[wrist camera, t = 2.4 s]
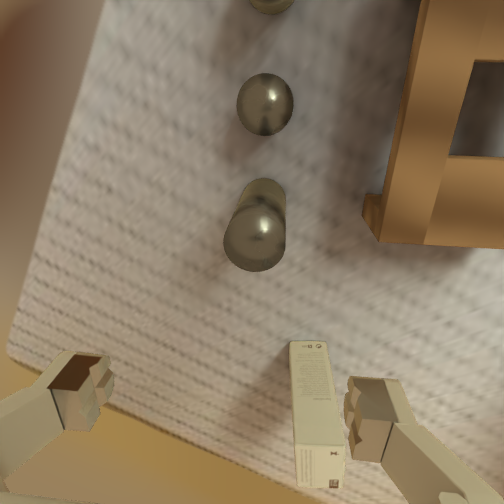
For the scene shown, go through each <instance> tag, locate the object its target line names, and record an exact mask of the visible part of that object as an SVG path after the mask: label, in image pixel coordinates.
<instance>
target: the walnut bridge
mask: <svg viewBox="0 0 504 504" xmlns="http://www.w3.org/2000/svg"><path fill="white" fill-rule="evenodd" d="M474 62H504V0H421V4H420V9H419V14H418V19H417V24H416V28H415V33H414V38H413V43H412V48H411V53H410V58H409V63H408V68H407V73H406V78H405V83H404V88H403V93H402V98H401V103H400V108H399V112H398V117H397V122H396V127H395V132H394V137H393V142H392V147H391V152H390V157H389V162H388V167H387V172H386V177H385V182H384V187H383V192H382V195H374V194H366V195H365V200H364V206H363V211H362V217H363V218H364V220H365V221H366V223H367V224H368V226H369V228H370V229H371V231H372V232H373V234H374V235H375V237H376V238H377V240H378V242H387V243H405V244H422V245H439V246H457V247H474V248H492V249H504V157H485V156H458V155H448V154H449V150H450V146H451V143H452V139H453V136H454V132H455V128H456V125H457V121H458V118H459V114H460V110H461V107H462V103H463V100H464V96H465V93H466V89H467V85H468V82H469V78H470V75H471V71H472V67H473V64H474Z"/></svg>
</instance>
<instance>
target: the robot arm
mask: <svg viewBox="0 0 504 504" xmlns="http://www.w3.org/2000/svg"><path fill="white" fill-rule="evenodd" d="M110 364H111V361H110V358H109V356H108V355H103V354H94V353H85V352H74V351H63V352H61V353H60V354H59V355H58V356H57V357H56V358H55V360H54V361H53V362H52V363H51V364H50V365H49V366H48V367H47V369H46V370H45V371H44V372H43V373H42V374H41V375H40V376H39V378H38V379H37V380H36V381H35V382H34V383H33V384H32V385H31V387H30V388H29V387H25V388H23V389H21V390H19V391H17V392H15V393H13V394H11V395H10V396H8V397H6V398H4V399H2V400H0V504H98V503H90V502H81V501H73V500H64V499H57V498H49V497H41V496H32V495H24V494H15V493H10V491H9V489H8V488H7V486H6V484H5V482H4V479H5V478H6V477H8V476H9V475H10V474H12V473H13V472H14V471H15V470H17V469H18V468H19V467H20V466H21V465H23V464H24V463H25V462H27V461H28V460H29V459H30V458H31V457H33V456H34V455H35V454H36V453H38V452H39V451H40V450H41V449H43V448H44V447H45V446H46V445H48V444H49V443H50V442H51V441H52V440H54V439H55V438H56V437H57V436H59V435H60V434H61V433H63V432H64V430H73V431H87V432H89V431H90V430H91V428H92V427H93V425H94V423H95V422H96V420H97V418H98V417H99V415H100V408H99V407H100V406H102V405H103V404H105V403H106V402H107V401H108V399H109V398H110V396H111V394H112V391H113V387H114V374H113V372H112V371H111V370H110V369H109V368H108V367H109V366H110ZM347 385H348V390H349V392H347V393H346V394H345V398H344V419H345V424H346V426H347V427H348V428H349V429H350V432H349V437H348V440H349V446H350V451H351V456H352V459H353V460H361V461H368V462H375V463H381V466H382V467H383V469H384V470H385V471H386V473H387V474H388V475H389V477H390V478H391V479H392V481H393V482H394V483H395V485H396V486H397V488H398V489H399V490H400V492H401V493H402V494H403V496H404V497H405V498H406V500H407V501H408V502H409V504H504V500H503V498H502V497H501V496H500V495H499V494H498V493H497V492H496V491H495V490H494V489H492V488H491V487H490V486H489V485H488V484H487V483H486V482H485V481H484V480H483V479H481V478H480V477H479V476H478V475H477V474H476V473H475V472H474V471H473V470H472V469H470V468H469V467H468V466H467V465H466V464H465V463H464V462H463V461H462V460H461V459H459V458H458V457H457V456H456V455H455V454H454V453H453V452H452V451H451V450H450V449H448V448H447V447H446V446H445V445H444V444H443V443H442V442H441V441H440V440H439V439H437V438H436V437H435V436H434V435H433V434H432V433H431V432H430V431H429V430H428V429H426V428H425V427H424V426H423V425H418V424H417V421H416V419H415V416H414V414H413V411H412V409H411V407H410V404H409V402H408V399H407V397H406V395H405V392H404V390H403V387H402V385H401V383H400V381H399V380H398V379H386V378H373V377H360V376H350V377H349V379H348V383H347Z"/></svg>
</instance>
